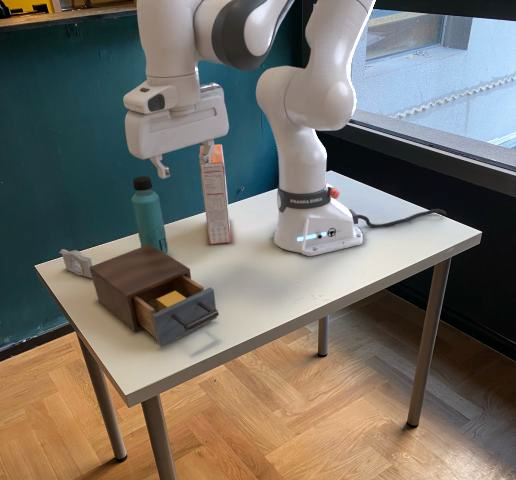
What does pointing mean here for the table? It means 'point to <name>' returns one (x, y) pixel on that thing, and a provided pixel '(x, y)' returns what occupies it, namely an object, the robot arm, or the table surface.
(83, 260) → the garden wall model
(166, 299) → the block
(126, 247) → the table surface
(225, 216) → the cracker box
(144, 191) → the beverage bottle
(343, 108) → the robot arm
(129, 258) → the cabinet
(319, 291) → the table surface
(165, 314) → the drawer
